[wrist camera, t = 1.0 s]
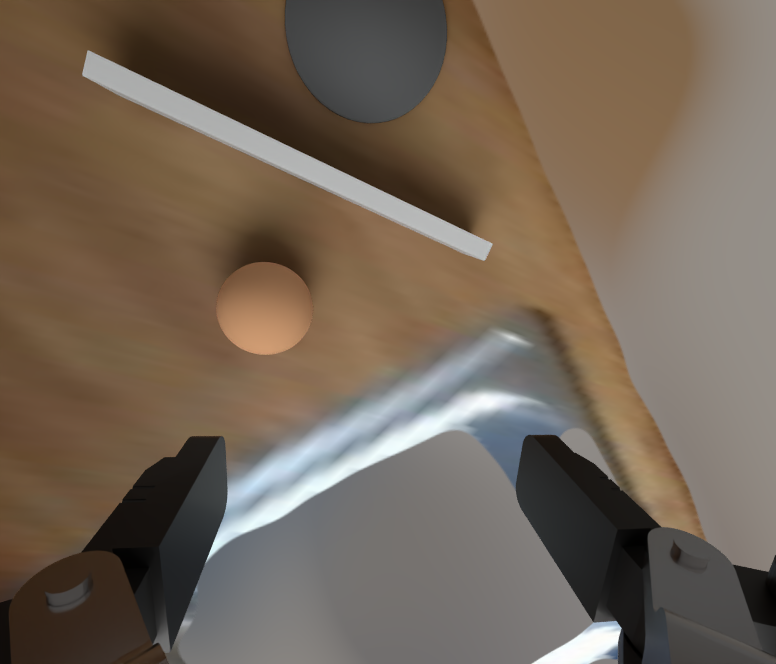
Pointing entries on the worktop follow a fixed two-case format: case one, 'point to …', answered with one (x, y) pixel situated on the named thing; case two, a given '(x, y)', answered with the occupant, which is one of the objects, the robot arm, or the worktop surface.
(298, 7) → the pad
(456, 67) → the worktop surface
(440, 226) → the low wall
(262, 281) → the ball
